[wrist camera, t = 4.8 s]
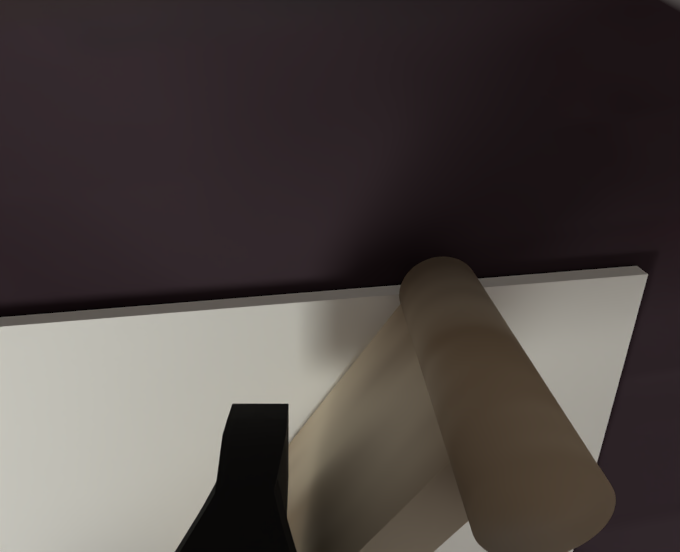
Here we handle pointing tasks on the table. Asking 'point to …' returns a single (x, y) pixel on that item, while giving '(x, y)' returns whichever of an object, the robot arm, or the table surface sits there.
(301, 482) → the beige long t-shaped piece
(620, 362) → the mat
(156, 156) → the table surface
